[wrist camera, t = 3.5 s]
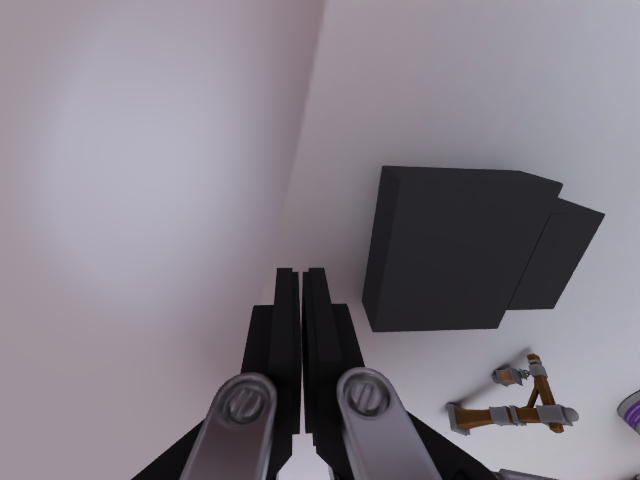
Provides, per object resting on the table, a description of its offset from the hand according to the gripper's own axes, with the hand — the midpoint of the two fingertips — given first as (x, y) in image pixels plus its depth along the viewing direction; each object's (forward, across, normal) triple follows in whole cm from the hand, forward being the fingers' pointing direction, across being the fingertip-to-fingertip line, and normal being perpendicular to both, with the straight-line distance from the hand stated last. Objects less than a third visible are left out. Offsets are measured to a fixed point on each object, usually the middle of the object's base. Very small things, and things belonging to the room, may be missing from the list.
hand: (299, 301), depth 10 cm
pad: (+5, -9, 0) cm, 10 cm away
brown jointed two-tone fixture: (+5, -14, +12) cm, 19 cm away
